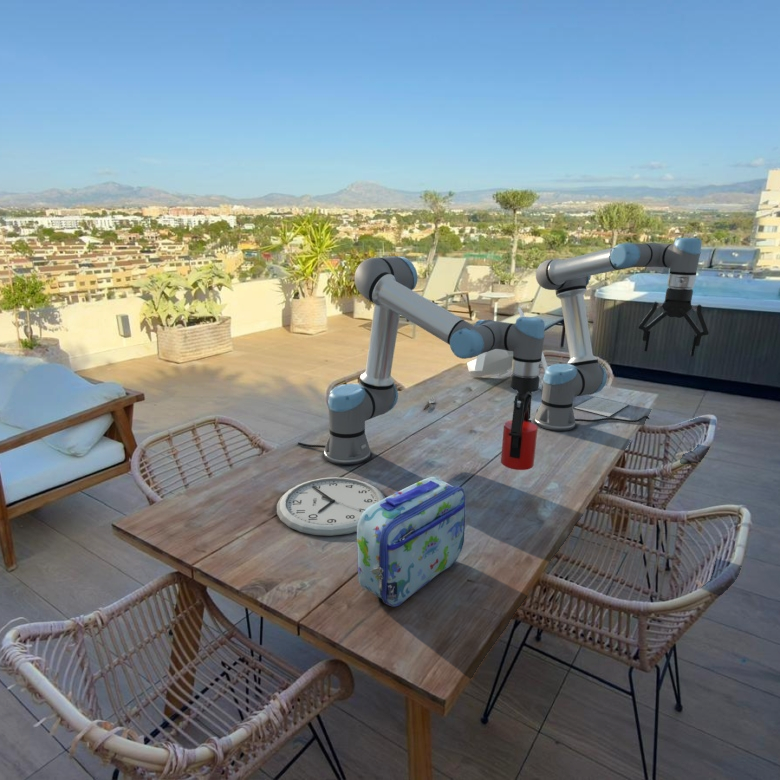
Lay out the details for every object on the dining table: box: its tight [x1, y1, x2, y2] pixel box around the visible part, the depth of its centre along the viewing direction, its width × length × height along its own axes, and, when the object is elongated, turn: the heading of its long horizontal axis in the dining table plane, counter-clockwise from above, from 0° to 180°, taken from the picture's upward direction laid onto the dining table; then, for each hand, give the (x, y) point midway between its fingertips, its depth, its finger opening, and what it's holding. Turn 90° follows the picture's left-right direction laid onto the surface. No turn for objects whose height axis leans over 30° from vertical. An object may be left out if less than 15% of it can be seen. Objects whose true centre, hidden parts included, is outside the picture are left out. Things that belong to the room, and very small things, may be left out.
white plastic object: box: [466, 306, 549, 390], centre depth 259 cm, size 37×45×31 cm
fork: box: [423, 395, 437, 411], centre depth 224 cm, size 3×16×2 cm, turn 160°
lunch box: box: [356, 476, 466, 608], centre depth 110 cm, size 26×11×21 cm, turn 134°
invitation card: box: [573, 396, 629, 418], centre depth 226 cm, size 21×1×15 cm
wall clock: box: [276, 476, 386, 537], centre depth 142 cm, size 30×2×30 cm
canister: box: [500, 419, 539, 471], centre depth 148 cm, size 9×9×12 cm
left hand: (518, 450), depth 149 cm, fingers closed on canister, 9 cm apart
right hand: (668, 353), depth 173 cm, fingers open, 13 cm apart
